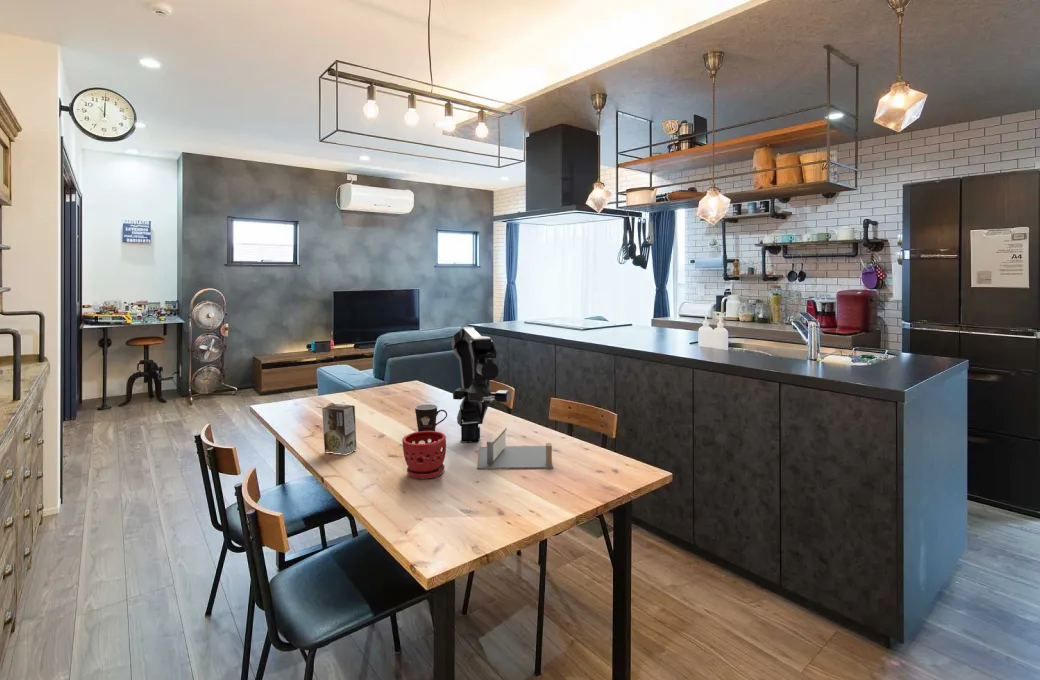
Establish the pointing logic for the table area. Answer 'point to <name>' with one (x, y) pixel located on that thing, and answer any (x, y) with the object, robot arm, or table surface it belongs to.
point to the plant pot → (424, 454)
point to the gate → (496, 445)
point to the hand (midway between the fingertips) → (481, 419)
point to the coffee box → (339, 428)
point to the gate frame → (518, 457)
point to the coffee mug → (427, 417)
